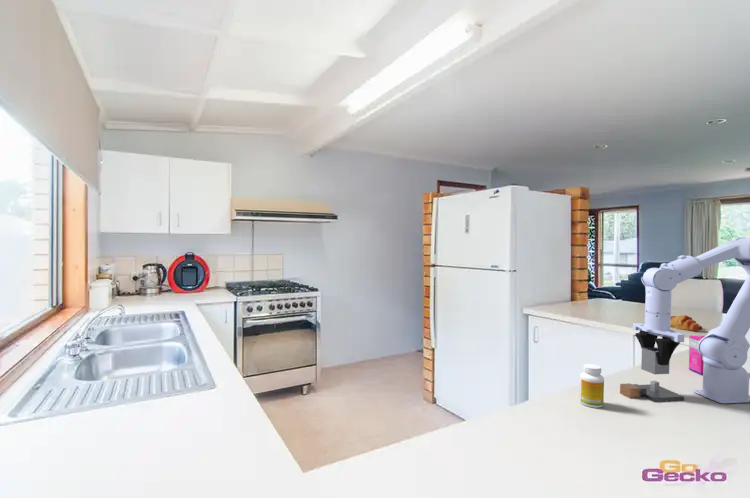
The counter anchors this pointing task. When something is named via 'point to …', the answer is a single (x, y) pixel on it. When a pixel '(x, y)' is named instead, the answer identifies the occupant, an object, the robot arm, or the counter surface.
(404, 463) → the counter surface
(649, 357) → the hollow square tube
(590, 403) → the supplement bottle
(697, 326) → the croissant
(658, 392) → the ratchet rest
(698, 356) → the supplement box
